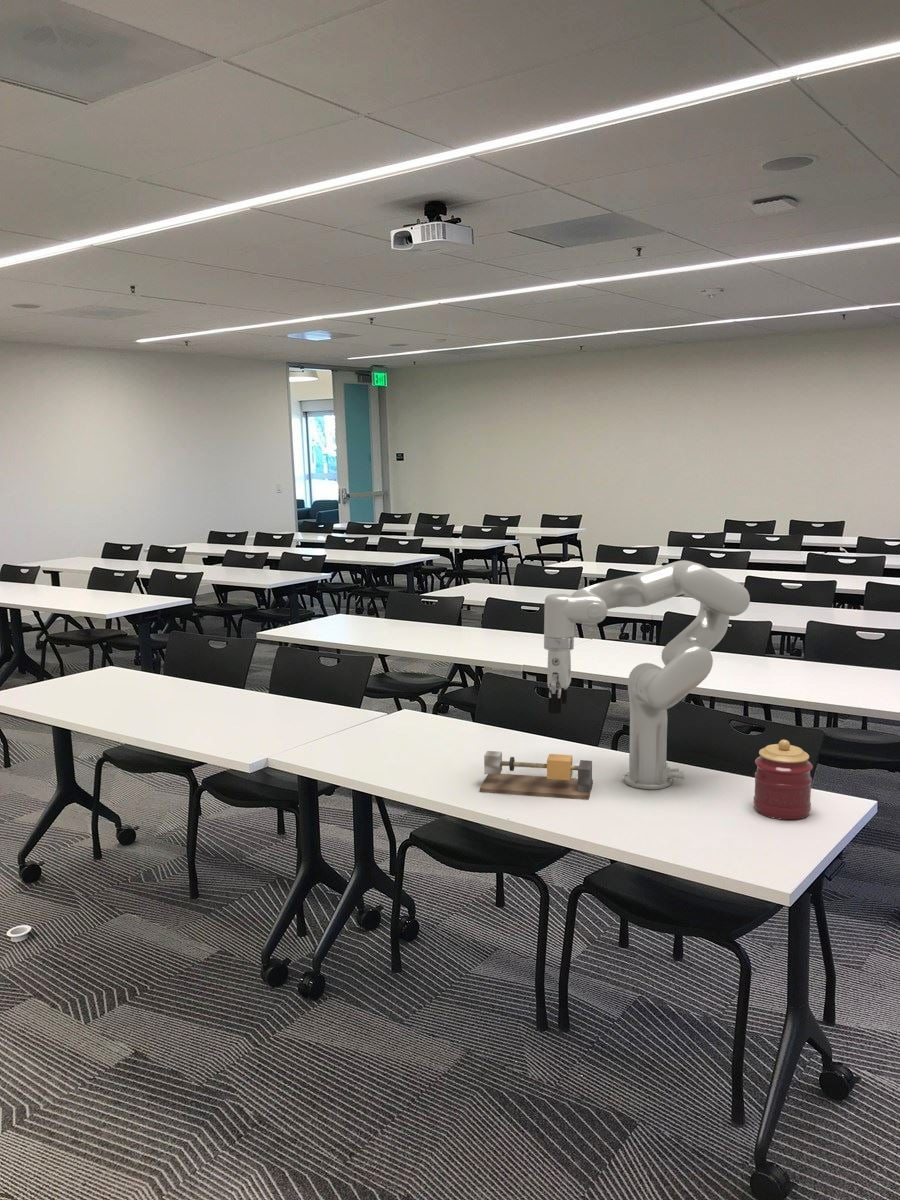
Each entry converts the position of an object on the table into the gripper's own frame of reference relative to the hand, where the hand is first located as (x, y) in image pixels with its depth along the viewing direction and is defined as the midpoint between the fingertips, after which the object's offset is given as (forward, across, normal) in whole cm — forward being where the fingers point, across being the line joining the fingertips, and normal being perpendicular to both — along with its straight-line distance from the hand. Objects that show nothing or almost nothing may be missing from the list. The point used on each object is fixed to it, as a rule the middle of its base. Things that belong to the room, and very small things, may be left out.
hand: (557, 708), depth 231 cm
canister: (+21, -3, -55) cm, 59 cm away
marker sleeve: (+18, 0, -1) cm, 18 cm away
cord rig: (+22, -1, +5) cm, 22 cm away
